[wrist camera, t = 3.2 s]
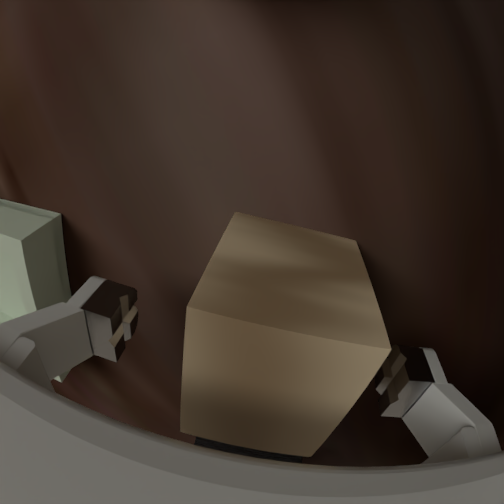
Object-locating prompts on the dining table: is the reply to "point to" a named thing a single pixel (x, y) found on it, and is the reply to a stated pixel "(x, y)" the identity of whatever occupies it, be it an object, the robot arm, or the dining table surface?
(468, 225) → the dining table surface
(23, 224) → the tray
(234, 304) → the block
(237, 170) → the dining table surface
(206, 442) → the socket block
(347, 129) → the dining table surface
